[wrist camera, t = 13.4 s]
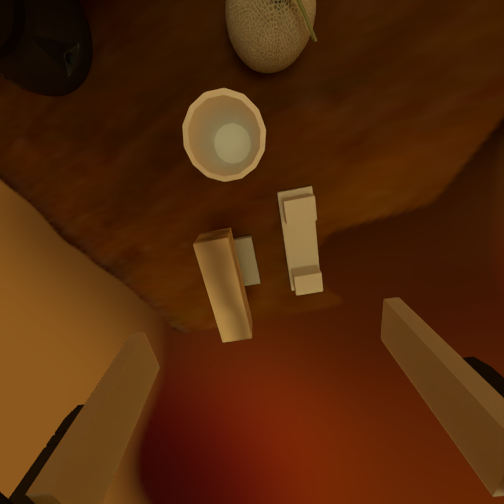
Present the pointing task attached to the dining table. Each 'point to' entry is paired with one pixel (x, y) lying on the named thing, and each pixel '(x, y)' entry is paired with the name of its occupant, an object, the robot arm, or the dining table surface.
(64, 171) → the dining table surface
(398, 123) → the dining table surface
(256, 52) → the fruit
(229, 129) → the foam cup
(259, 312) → the dining table surface
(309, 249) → the beige bracket
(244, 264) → the fulcrum
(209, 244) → the bar
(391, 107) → the dining table surface
